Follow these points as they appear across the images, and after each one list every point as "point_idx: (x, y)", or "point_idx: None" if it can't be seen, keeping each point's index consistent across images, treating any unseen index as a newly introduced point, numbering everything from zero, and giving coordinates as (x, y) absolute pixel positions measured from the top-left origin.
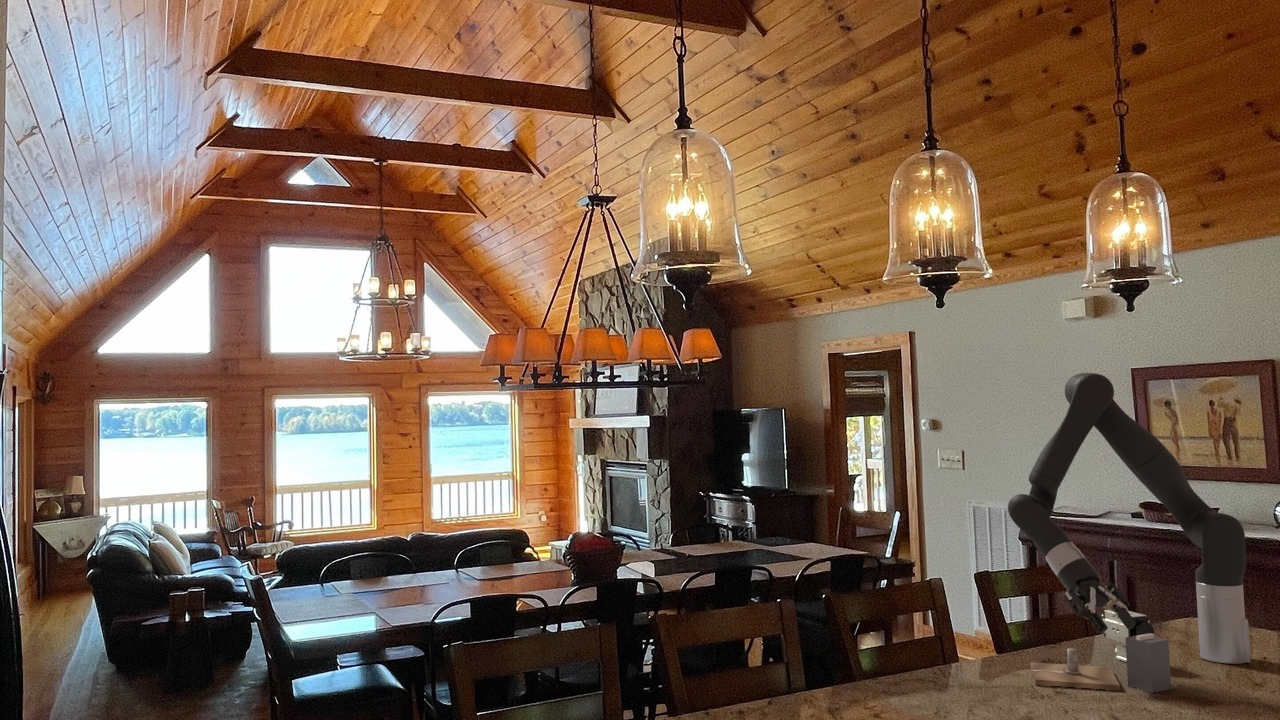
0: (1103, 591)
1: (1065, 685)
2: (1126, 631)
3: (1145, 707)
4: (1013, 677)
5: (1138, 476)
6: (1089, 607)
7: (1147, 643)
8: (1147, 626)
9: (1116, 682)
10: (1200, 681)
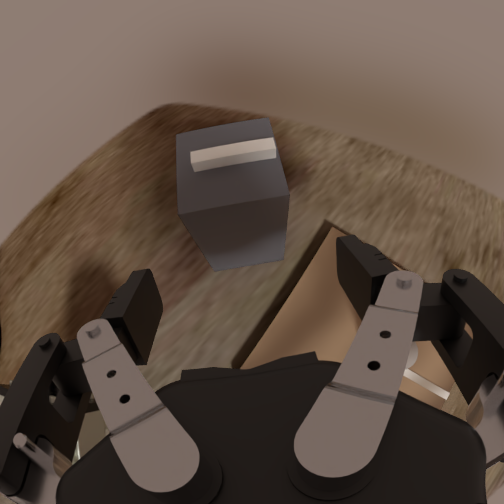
0: (168, 416)
1: None
2: (88, 420)
3: (347, 144)
4: None
5: None
6: (419, 302)
7: (269, 125)
8: None
9: (325, 247)
10: (105, 241)
